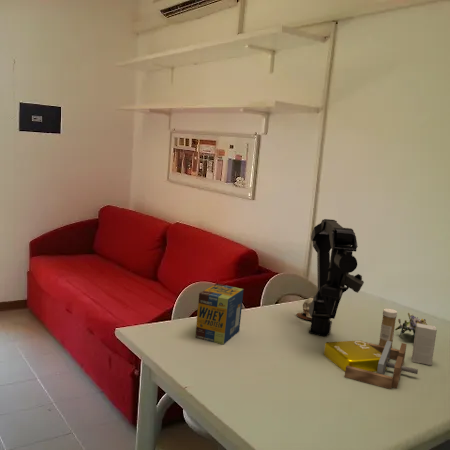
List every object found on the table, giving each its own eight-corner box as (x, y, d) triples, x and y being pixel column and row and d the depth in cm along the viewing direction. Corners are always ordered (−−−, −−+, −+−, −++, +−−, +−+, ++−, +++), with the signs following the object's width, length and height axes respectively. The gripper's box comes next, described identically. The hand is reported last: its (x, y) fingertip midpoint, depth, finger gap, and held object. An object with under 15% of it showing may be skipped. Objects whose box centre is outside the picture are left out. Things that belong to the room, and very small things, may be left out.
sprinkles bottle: (394, 349, 170) (400, 311, 168) (386, 351, 167) (391, 313, 166) (383, 344, 174) (389, 307, 172) (375, 346, 171) (380, 308, 169)
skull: (333, 320, 192) (319, 301, 190) (312, 336, 192) (297, 317, 190) (324, 309, 203) (310, 291, 201) (304, 324, 204) (290, 306, 202)
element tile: (321, 354, 161) (323, 340, 160) (360, 352, 166) (362, 338, 165) (347, 375, 147) (349, 359, 146) (389, 371, 152) (391, 357, 151)
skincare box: (430, 361, 162) (436, 326, 161) (431, 366, 158) (437, 330, 157) (411, 357, 164) (416, 322, 162) (411, 361, 160) (416, 326, 158)
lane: (344, 376, 144) (347, 357, 143) (359, 349, 167) (361, 332, 166) (396, 390, 138) (399, 370, 138) (404, 360, 161) (407, 342, 160)
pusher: (375, 381, 142) (378, 363, 142) (384, 356, 162) (387, 340, 161) (414, 391, 138) (417, 372, 137) (419, 364, 158) (421, 348, 157)
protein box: (194, 338, 164) (198, 292, 161) (213, 324, 178) (216, 283, 176) (223, 345, 160) (228, 298, 158) (240, 331, 174) (244, 288, 172)
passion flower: (418, 356, 180) (426, 338, 171) (388, 344, 184) (394, 325, 176) (426, 333, 186) (434, 314, 178) (397, 322, 191) (404, 303, 182)
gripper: (358, 275, 151) (352, 324, 153) (367, 265, 168) (362, 309, 170) (322, 268, 155) (316, 316, 158) (335, 259, 172) (329, 302, 174)
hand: (332, 311), depth 165 cm, fingers open, 9 cm apart
